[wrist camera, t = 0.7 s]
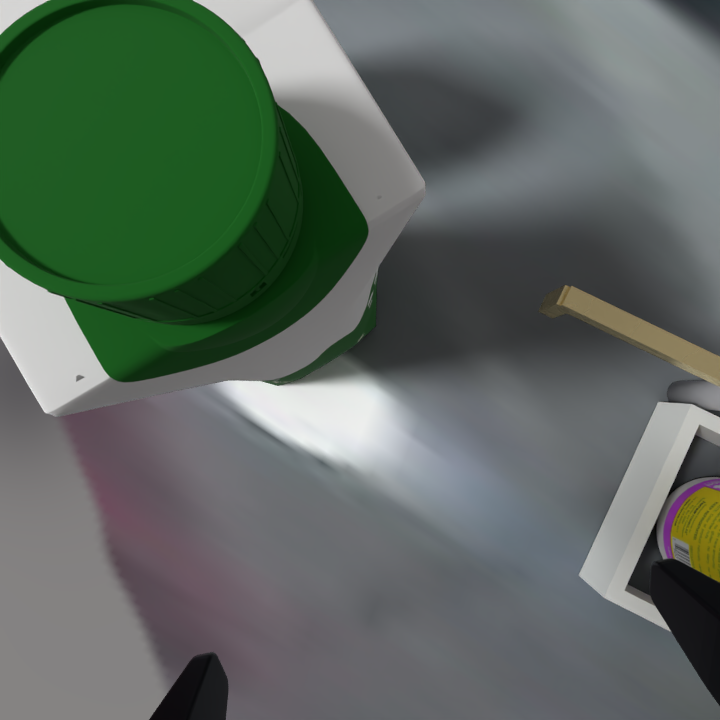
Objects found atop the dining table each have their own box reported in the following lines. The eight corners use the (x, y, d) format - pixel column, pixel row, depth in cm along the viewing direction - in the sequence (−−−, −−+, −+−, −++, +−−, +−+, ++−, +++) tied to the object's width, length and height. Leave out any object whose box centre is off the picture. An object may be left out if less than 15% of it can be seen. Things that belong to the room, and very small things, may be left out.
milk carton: (272, 407, 25) (-121, 505, 5) (197, 279, 25) (-446, -120, 5) (397, 331, 25) (529, 114, 5) (320, 206, 25) (154, -453, 5)
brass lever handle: (749, 426, 21) (797, 431, 18) (533, 321, 21) (554, 314, 19) (766, 387, 21) (817, 387, 18) (551, 283, 21) (574, 271, 19)
